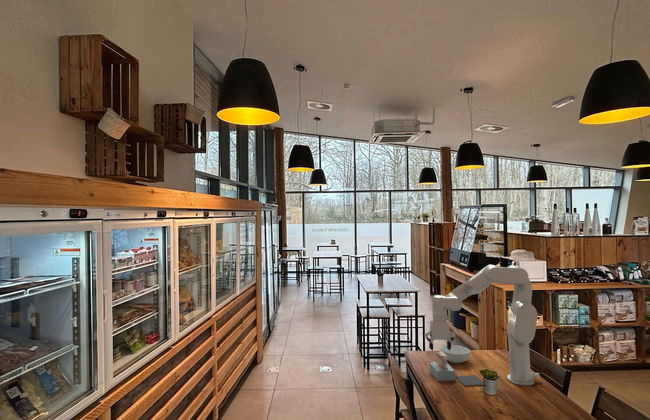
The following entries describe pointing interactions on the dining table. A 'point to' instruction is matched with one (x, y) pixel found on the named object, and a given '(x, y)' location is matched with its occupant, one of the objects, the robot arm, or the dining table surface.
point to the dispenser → (442, 372)
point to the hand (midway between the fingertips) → (440, 349)
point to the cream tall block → (441, 360)
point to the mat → (470, 380)
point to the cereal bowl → (456, 353)
